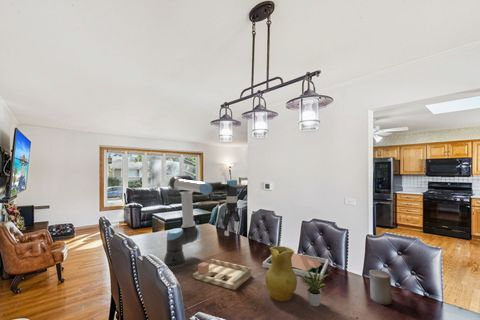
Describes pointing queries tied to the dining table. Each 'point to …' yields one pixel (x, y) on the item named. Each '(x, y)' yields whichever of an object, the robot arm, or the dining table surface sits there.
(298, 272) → the serving tray rim
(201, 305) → the dining table surface
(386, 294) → the pillar candle
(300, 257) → the house
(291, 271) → the pitcher
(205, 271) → the salmon block
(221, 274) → the cube sorting tray
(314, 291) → the house plant
